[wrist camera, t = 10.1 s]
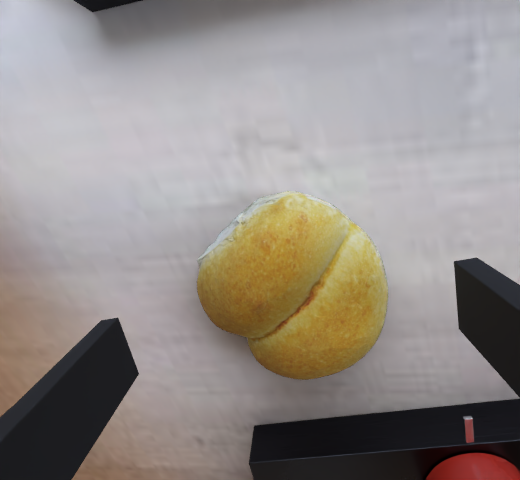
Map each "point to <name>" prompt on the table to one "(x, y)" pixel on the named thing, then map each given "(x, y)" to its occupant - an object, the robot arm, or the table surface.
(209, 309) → the bread roll
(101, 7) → the remote control
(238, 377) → the table surface
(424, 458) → the hob
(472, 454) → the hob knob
